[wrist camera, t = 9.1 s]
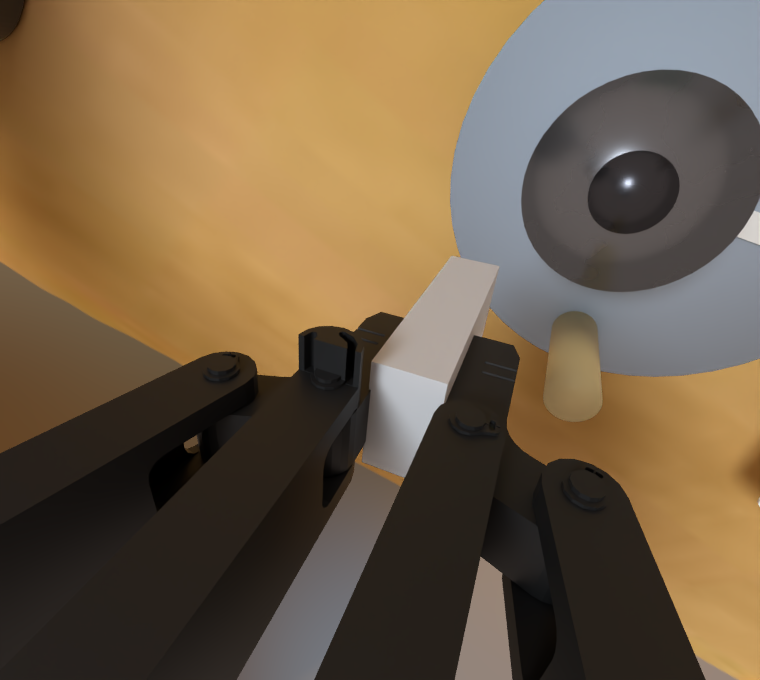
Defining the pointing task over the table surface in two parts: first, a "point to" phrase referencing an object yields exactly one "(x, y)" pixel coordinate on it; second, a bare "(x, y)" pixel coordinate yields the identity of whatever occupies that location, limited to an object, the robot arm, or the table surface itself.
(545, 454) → the table surface
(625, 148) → the cover
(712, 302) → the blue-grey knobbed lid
